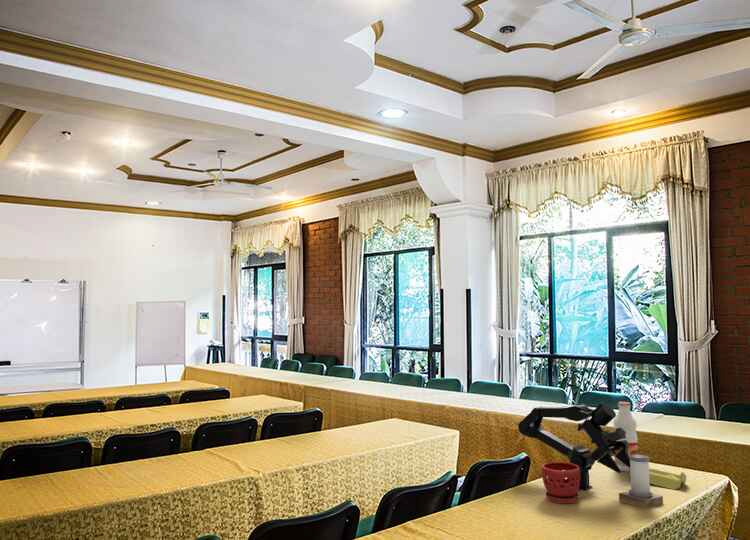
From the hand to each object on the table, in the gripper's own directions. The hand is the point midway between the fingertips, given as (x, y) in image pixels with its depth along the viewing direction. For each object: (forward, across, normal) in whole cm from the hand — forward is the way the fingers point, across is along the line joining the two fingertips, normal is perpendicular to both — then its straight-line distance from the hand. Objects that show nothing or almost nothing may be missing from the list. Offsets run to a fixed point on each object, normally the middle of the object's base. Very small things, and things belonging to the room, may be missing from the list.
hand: (626, 470), depth 210 cm
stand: (+10, 0, +3) cm, 11 cm away
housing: (+9, 0, +2) cm, 9 cm away
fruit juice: (-6, +38, +21) cm, 43 cm away
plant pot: (-3, -19, +18) cm, 26 cm away
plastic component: (+6, +29, +9) cm, 31 cm away
